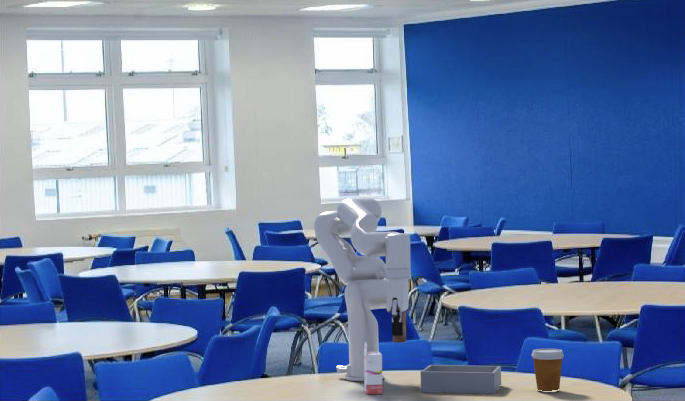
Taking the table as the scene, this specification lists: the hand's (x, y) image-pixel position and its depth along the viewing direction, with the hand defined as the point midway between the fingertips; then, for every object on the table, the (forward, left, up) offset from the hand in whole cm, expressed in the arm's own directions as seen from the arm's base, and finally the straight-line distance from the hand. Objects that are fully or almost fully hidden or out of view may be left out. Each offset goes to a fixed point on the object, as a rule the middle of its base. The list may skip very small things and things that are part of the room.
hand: (399, 334), depth 369 cm
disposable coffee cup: (+44, +2, -17) cm, 47 cm away
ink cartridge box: (-7, -6, -17) cm, 19 cm away
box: (+18, +3, -17) cm, 25 cm away
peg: (0, 0, -2) cm, 2 cm away
